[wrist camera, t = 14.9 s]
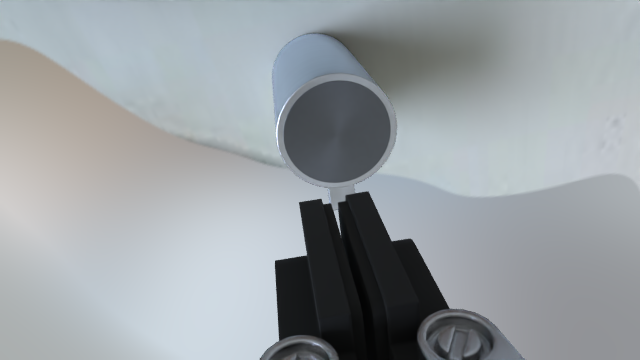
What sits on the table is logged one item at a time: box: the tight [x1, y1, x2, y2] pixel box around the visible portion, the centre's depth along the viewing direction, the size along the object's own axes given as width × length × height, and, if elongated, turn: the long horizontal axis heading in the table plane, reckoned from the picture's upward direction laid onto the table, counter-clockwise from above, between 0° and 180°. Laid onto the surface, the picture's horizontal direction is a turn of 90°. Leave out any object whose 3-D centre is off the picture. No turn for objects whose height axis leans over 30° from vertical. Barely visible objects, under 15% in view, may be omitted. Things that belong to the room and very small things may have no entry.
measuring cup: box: [272, 33, 397, 211], centre depth 25 cm, size 6×5×10 cm
